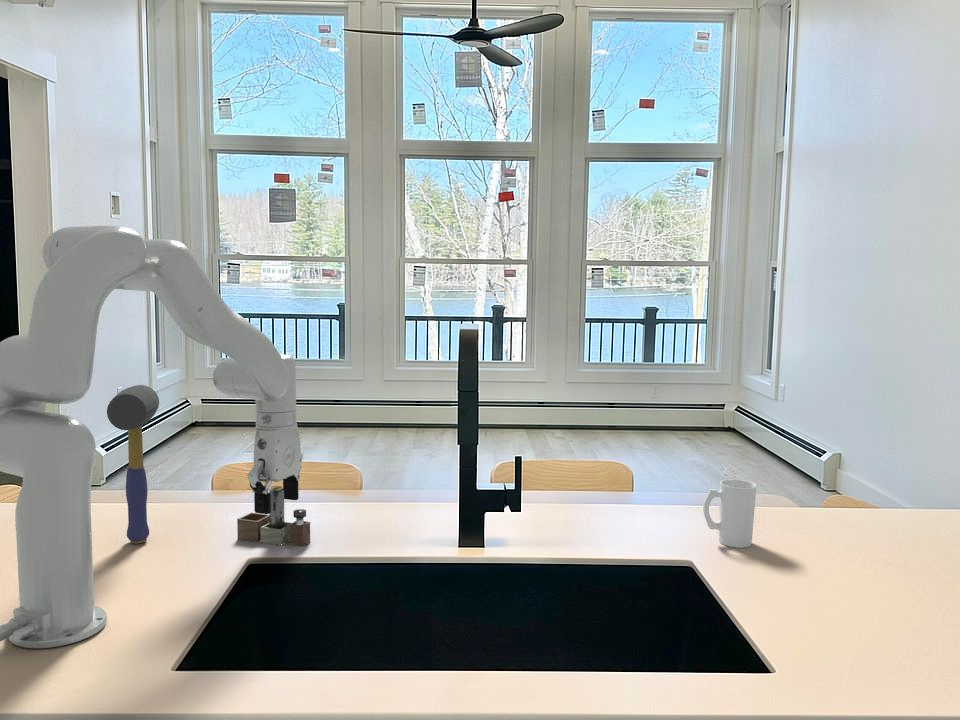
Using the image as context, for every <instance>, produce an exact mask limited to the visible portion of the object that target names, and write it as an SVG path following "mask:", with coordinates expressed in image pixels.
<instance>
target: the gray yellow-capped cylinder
mask: <svg viewBox="0 0 960 720" xmlns="http://www.w3.org/2000/svg"><path fill="white" fill-rule="evenodd" d="M268 493H271V513H270V514H268V515H269V516H270V528H275V529H282V528H284V527H285V526H284V522H285V499H284V489H283V485H282V486H281V485H273V486H270V489H269V491H268Z"/></svg>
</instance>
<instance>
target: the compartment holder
mask: <svg viewBox="0 0 960 720" xmlns="http://www.w3.org/2000/svg"><path fill="white" fill-rule="evenodd" d="M236 521H237V522H236V523H237V525H236V526H237V527H236V528H237V529H236V530H237V540H241V541H247V540H250V541H249V542H254V541H256V543H259V542H260V543H261V542H265V543H264V544H269V543H272V544H271V545H276V544H280V545H279V546H282V545H281V544H283V545H285V544H286V543H288V542H289V545H290V544H291V545H290V546H296V545H300V546H299V547H304V546H306V545H307V543H308V544H309V543H310V542H311V521H307V520H306V521H305V520H304V525H296V520H295V521H293V522H291V521H290V522H289V521H284V526H285V527H284V528H282V529H275V528H270V516H269V514H261V513H255V512H250V513H247V514H245V515H243V516H241V517H238V518H237V519H236ZM260 540H261V541H260ZM289 540H290V541H289ZM258 541H259V542H258ZM287 541H288V542H287ZM284 543H285V544H284ZM305 544H306V545H305Z"/></svg>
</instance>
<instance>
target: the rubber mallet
mask: <svg viewBox="0 0 960 720" xmlns="http://www.w3.org/2000/svg"><path fill="white" fill-rule="evenodd" d="M159 405H160V398H159V396H158V393H157V392H156V391H155V390H154V389H153V388H151V387H150V386H147V385H143V384H136V385H133V386H129V387H127V388H124V389H123V390H120V391H119V392H117V394H116V395H115V396H114V397H113V398H112V399H111V400H110V401H109V403H108V405H107V407H106V416H107V420H109V423H110V424H111V425H112V426H113V427H114V428H117V429H119V430H120V431H127V446H128V453H127V454H128V468H127V470H126V477H125V478H126V479H125V496H126V503H127V514H128V515H127V517H128V519H127V521H128V523H127V529H126V538H127V539H128V541H130V543H131V544H141V543H145V542H146V541H148V540H147V539H148V538H149V536H150V528H149V524H148V515H147V514H148V513H147V503H148V501H147V500H148V493H149V492H148V480H147V474H146V469H145V467H144V453H143V452H144V447H143V425H145V424H147V423H148V422H149V421H150V420H151V419H152V418H153V417H154V415H155V414H156V413H157V410H158V409H159V407H160V406H159Z"/></svg>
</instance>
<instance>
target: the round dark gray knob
mask: <svg viewBox="0 0 960 720" xmlns="http://www.w3.org/2000/svg"><path fill="white" fill-rule="evenodd" d="M292 515H293V516H292V517H293V518H295V521H296V525H304V521H305V518H306V517H307V510H306V509H304V508H303V509H301V508H299V509H294V510H293V514H292Z"/></svg>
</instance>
